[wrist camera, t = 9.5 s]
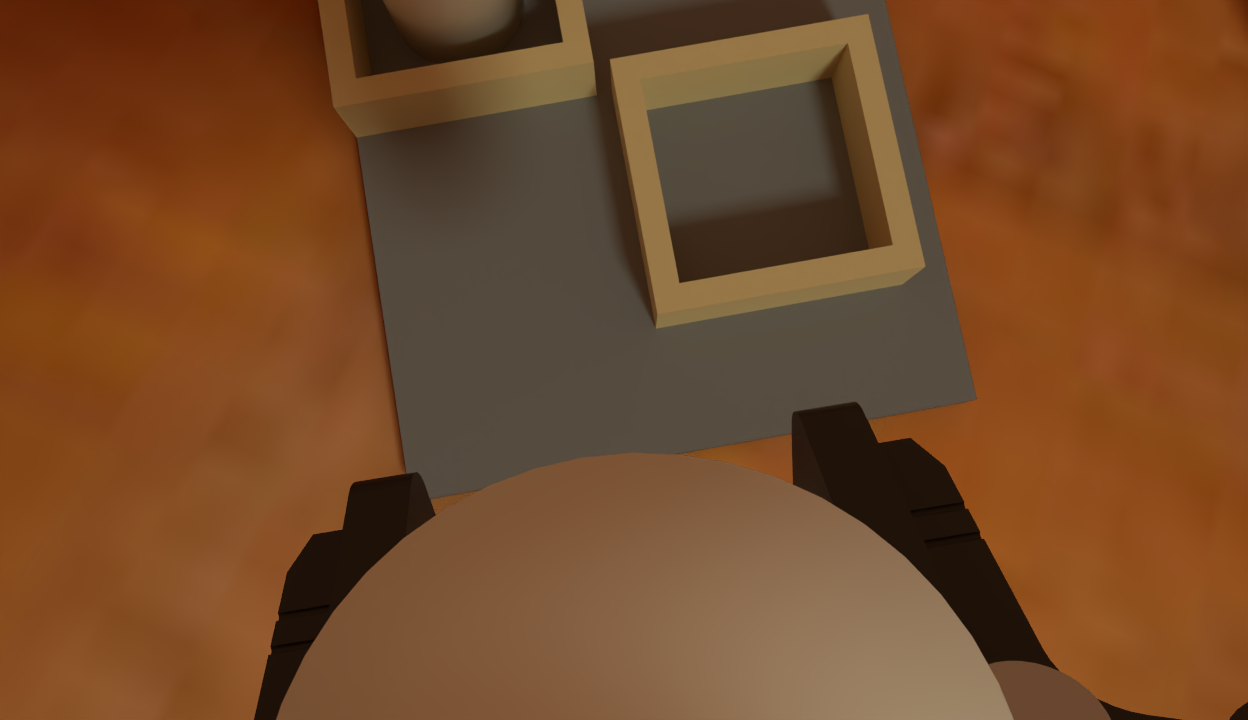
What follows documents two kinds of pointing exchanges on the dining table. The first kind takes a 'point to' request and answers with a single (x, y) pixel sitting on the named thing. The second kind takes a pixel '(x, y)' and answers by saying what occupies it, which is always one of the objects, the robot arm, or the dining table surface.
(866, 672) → the cream candle
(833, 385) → the candle board
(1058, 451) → the dining table surface
